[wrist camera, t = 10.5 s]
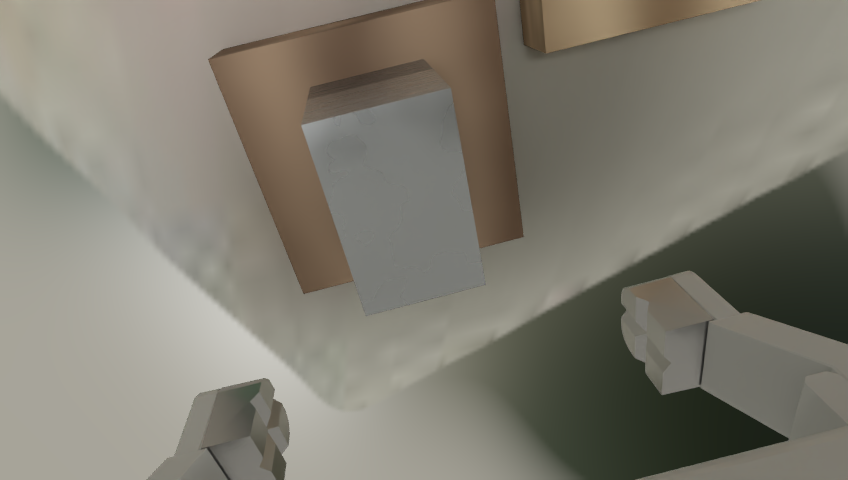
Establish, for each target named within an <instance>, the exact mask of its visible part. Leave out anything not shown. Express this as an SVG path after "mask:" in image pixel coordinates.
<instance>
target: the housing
mask: <svg viewBox="0 0 848 480" xmlns="http://www.w3.org/2000/svg"><path fill="white" fill-rule="evenodd" d="M301 127H302V129H303V132H304V135H305V138H306V141H307V144H308V147H309V150H310V153H311V156H312V159H313V162H314V165H315V168H316V171H317V174H318V177H319V179H320V182H321V185H322V188H323V191H324V194H325V197H326V200H327V203H328V206H329V209H330V212H331V215H332V218H333V221H334V224H335V227H336V230H337V232H338V235H339V238H340V241H341V244H342V247H343V250H344V253H345V256H346V259H347V262H348V265H349V268H350V271H351V274H352V277H353V280H354V283H355V285H356V288H357V291H358V294H359V297H360V300H361V303H362V306H363V309H364V312H365V315H366V316H368V315H372V314H375V313H379V312H383V311H387V310H391V309H395V308H398V307H402V306H406V305H410V304H414V303H417V302H421V301H425V300H429V299H433V298H436V297H440V296H444V295H448V294H452V293H456V292H459V291H463V290H467V289H471V288H475V287H478V286H482V285H486V283H485V277H484V272H483V266H482V260H481V255H480V249H479V244H478V238H477V232H476V227H475V221H474V215H473V210H472V204H471V198H470V193H469V187H468V182H467V176H466V170H465V165H464V159H463V153H462V148H461V142H460V136H459V131H458V125H457V120H456V114H455V108H454V103H453V97H452V91H451V87H450V86H449V85H448V84H447V83H446V82H445V81H444V80H443V79H442V78H441V77H440V76H439V75H438V74H437V73H436V71H435V70H434V69H433V68H432V67H431V66H430V65H429V64H428V63H427V62H426V61H425V60H424V59H421V60H417V61H413V62H409V63H405V64H401V65H397V66H393V67H389V68H385V69H381V70H377V71H373V72H369V73H365V74H361V75H357V76H352V77H348V78H344V79H340V80H336V81H332V82H328V83H324V84H320V85H316V86H312V87H310V90H309V94H308V99H307V103H306V107H305V111H304V115H303V119H302V123H301Z"/></svg>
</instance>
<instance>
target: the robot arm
mask: <svg viewBox="0 0 848 480" xmlns="http://www.w3.org/2000/svg"><path fill="white" fill-rule="evenodd" d="M621 303H622V304H623V306H624V307H625V308H626V309H627V310H626V312H625V313H624V315H623V316H622V318H621V325H622V332H623V336H624V339H625V342H626V344H627V346H628V348H629V350H630V351H631V353H632V354H633V355H634V357H635V358H636V359H639V360H641V361H643V362H645V363H646V366H645V372H646V374H647V375H648V377H649V378H650V379H651V381H652V382H653V383H654V385H655V386H656V388H657V389H658V390H659V392H660V393H661V394H662V395H664V394H668V393H672V392H677V391H681V390H686V389H690V388H695V387H699V386H701V388H702V389H703V390H705V391H707V392H709V393H711V394H712V395H714V396H716V397H718V398H719V399H721V400H723V401H725V402H726V403H728V404H730V405H731V406H733V407H735V408H737V409H738V410H740V411H742V412H744V413H746V414H747V415H749V416H751V417H752V418H754V419H756V420H758V421H760V422H761V423H763V424H765V425H767V426H768V427H770V428H772V429H774V430H775V431H777V432H779V433H781V434H783V435H784V436H786V437H788V438H789V441H786V442H782V443H778V444H774V445H770V446H766V447H762V448H759V449H755V450H751V451H747V452H743V453H739V454H735V455H731V456H727V457H723V458H720V459H715V460H712V461H707V462H704V463H700V464H696V465H692V466H688V467H684V468H680V469H676V470H672V471H669V472H664V473H661V474H657V475H653V476H649V477H645V478H641V479H637V480H848V345H847V344H844V343H841V342H838V341H835V340H832V339H829V338H825V337H823V336H819V335H816V334H813V333H810V332H807V331H804V330H801V329H797V328H795V327H792V326H788V325H785V324H782V323H779V322H776V321H773V320H770V319H767V318H764V317H761V316H758V315H755V314H751V313H748V312H746V313H741V314H740V313H739V312H738V311H737V310H736V309H734V308H733V307H732V306H731V305H730V304H729V303H728V302H727V301H726V300H724V299H723V298H722V297H721V296H720V295H719V294H717V292H715V291H714V290H713V289H712V288H711V287H710V286H709V285H708V284H706V283H705V282H704V281H703V280H702V279H701V278H700V277H699V276H697V275H696V274H695V273H694V272H691V271H686V272H682V273H678V274H675V275H671V276H667V277H666V278H661V279H657V280H653V281H649V282H645V283H642V284H638V285H634V286H630V287H626V288H623V291H622V293H621ZM274 390H275V389H274V388H273V386H272V384H271V382H270V381H269V379H266V378H263V379H259V380H254V381H250V382H245V383H241V384H237V385H232V386H228V387H223V388H221V389H217V390H212V391H208V392H203V393H200V394H199V395H197V396H196V398H195V399H194V401H193V404H192V407H191V410H190V413H189V416H188V418H187V422H186V424H185V427H184V430H183V433H182V436H181V438H180V441H179V444H178V447H177V450H176V453H175V455H174V457H170V458H167V459H166V460H165V461H164V462H163V463H162V464H161V465H160V466H159V467H158V469H156V471H154V472H153V474H152V475H151V476H150V477H149V478H148V479H147V480H284V477H285V469H286V462H285V460H284V458H283V456H282V453H283V452H284V451H285V449H286V448H287V447H288V445H289V435H290V432H289V422H288V418H287V414H286V411H285V409H284V407H283V405H282V403H280V402H278V401H276V400H274V399H273V397H274Z"/></svg>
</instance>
